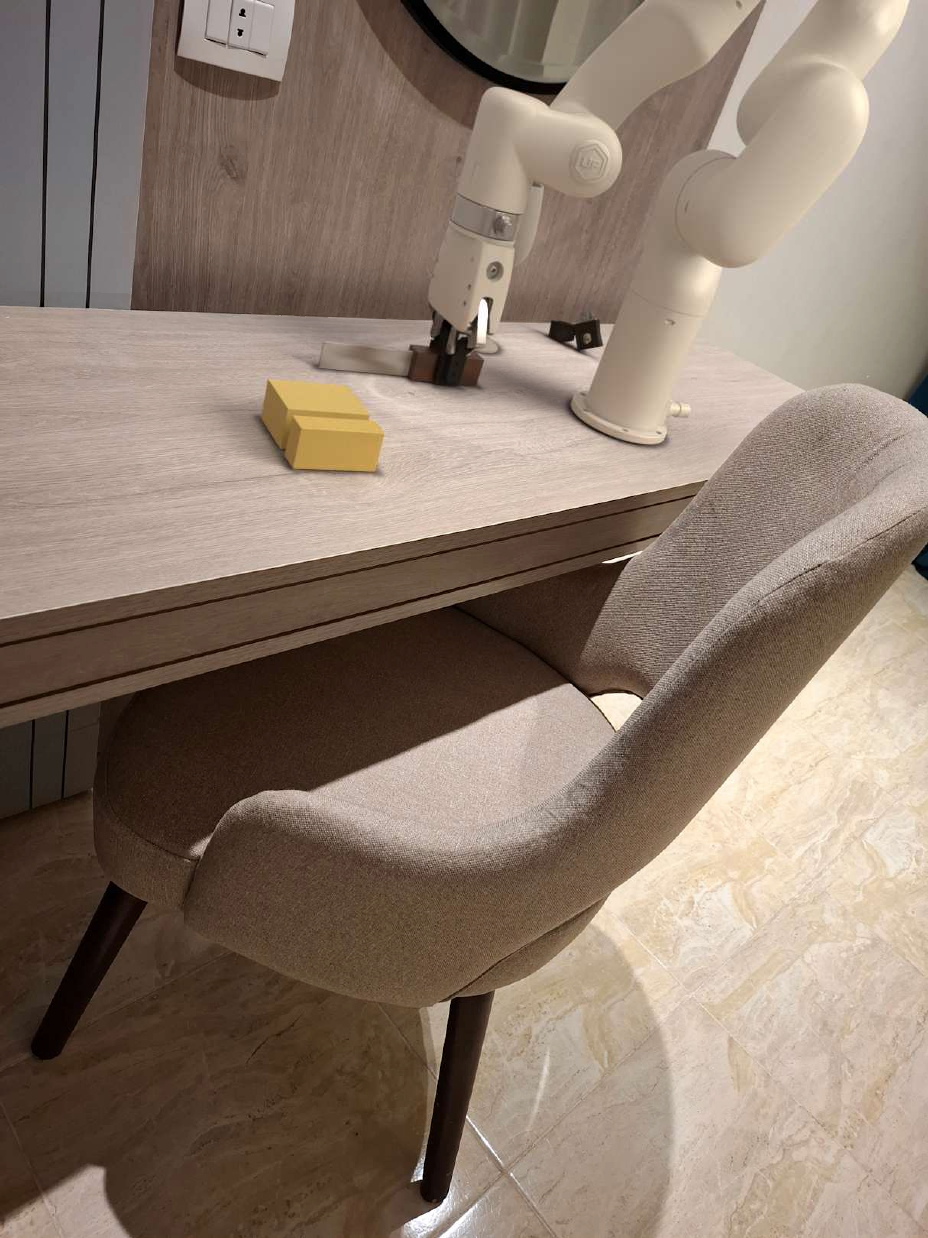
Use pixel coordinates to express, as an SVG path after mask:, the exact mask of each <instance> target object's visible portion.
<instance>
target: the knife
mask: <svg viewBox="0 0 928 1238" xmlns="http://www.w3.org/2000/svg"><path fill="white" fill-rule="evenodd" d="M442 350H443V351H446V348H439V347H430V346H429V345H422V344H412V343H410V344H409V347H408V349H398V348H388V347H380V346H372V345H371V346H370V345H361V344H352V343H343V342H335V341H325V340H323V341H322V346H321V352H320V356H319V362H318V368H319V369H324V370H325V369H326V370H327V369H328V370H336V371H345V372H346V371H348V372H358V373H369V374H378V375H379V374H380V375H388V376H389V375H390V376H398V377H399V376H400V377H408V379H409V380H410V381H416V382H427V383H435V382H434V378H435V375H436V371H437V367H438V364H439V360H440V357H441V353H442ZM484 362H485V359H484V358H483V357H482V356H481V355H480V354H479V352H477V351H472V353H471V355H470V356H469V357H468V356H467V359H466V363H465V366H464V370H463V373H462V376H461V380H460V383H459V385H458V386H472V387H477V386H478V382H479V379H480V375H481V373H482V370H483V366H484Z"/></svg>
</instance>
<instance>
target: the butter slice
mask: <svg viewBox="0 0 928 1238" xmlns="http://www.w3.org/2000/svg"><path fill="white" fill-rule="evenodd" d="M385 435H386V434H385V431H384V430H383V428H382V427H380V425H379V423H377V421H376V420H369V421H368V420H354V419H339V418H325V417H310V416H295V415H293V416H292V421H291V426H290V431H289V436H288V441H287V446H286V449H285V452H284V457H285V459H286V461H287V462H288V464H289V465H290V466H291V467H290V468H292V469H293V470H316V471H317V470H318V471H341V472H342V471H343V472H344V471H346V472H370V473H371V472H373V473H374V472H376V469H377V466H378V465H377V464H378V461H379V458H380V457H379V456H380V454H381V450H382V445H383V442H384V438H385Z"/></svg>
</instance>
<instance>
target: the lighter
mask: <svg viewBox="0 0 928 1238" xmlns="http://www.w3.org/2000/svg"><path fill="white" fill-rule="evenodd" d="M580 315H581V319H576V321H575V323H572V322H569V321H564V320H553V319H551V320H550V325H549V332H548V337H550V339H552V340H555V341H557V342H562V343H570V342H574V341H575V344H576V350H577V352H581V351H586V350H590V349H591V350H592V349H596V348H600V347H604V342H603V338H602V334H601V320H600V319H599V318H598V317H597V318H594V313H593V312H590V311H584V312H581V314H580Z"/></svg>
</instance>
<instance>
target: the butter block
mask: <svg viewBox="0 0 928 1238" xmlns="http://www.w3.org/2000/svg"><path fill="white" fill-rule="evenodd" d="M293 415H295V416H310V417H325V418H339V419H354V420H368V421H370V417H371V414H370V412H369V411H368V410H367V409H366V407H365V406H364V404H363V403H362V402H361V401H360V400H359V399H358V397H357V396H356V395H355V393H354V392H353V391H352V390H351V389H350V387H349V386H348V385H341V384H340V385H339V384H332V383H331V384H330V383H319V382H306V381H297V380H296V381H295V380H283V379H273V378H268V379H267V382H266V387H265V393H264V400H263V405H262V411H261V416H260V419H261V421H262V423H264V425H265V427H266V428H267V430H268V432H269V433H270V435H271V436H272V439H273V440H274V442H275V443H276V445H277V446H278V448H279V449H280V450H286V446H287V441H288V436H289V431H290V426H291V421H292V416H293Z"/></svg>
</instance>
